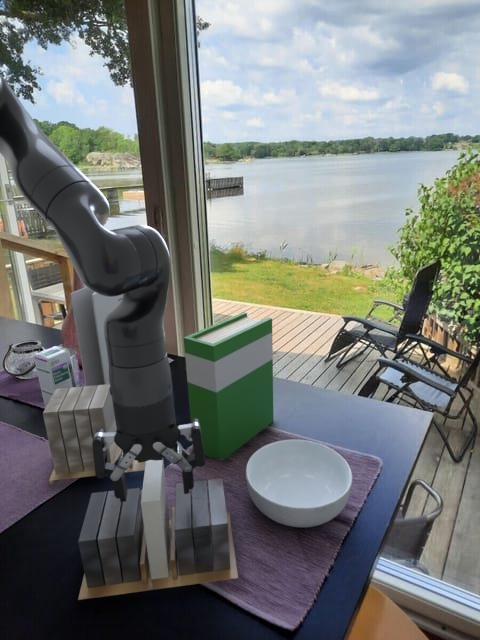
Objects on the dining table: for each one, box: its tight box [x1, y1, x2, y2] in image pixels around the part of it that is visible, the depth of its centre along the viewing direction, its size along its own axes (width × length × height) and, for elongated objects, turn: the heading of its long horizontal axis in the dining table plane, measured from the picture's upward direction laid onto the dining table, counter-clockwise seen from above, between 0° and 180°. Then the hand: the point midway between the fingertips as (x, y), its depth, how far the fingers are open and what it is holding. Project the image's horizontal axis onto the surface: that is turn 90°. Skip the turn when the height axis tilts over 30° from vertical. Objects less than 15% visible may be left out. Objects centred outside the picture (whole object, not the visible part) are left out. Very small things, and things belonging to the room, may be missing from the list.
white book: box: [141, 458, 171, 579], centre depth 62 cm, size 2×9×13 cm, turn 7°
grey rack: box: [77, 478, 239, 601], centre depth 63 cm, size 21×12×9 cm, turn 97°
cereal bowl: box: [245, 439, 353, 528], centre depth 72 cm, size 17×17×7 cm
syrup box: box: [33, 345, 77, 409], centre depth 104 cm, size 6×6×14 cm
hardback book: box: [183, 311, 274, 460], centre depth 89 cm, size 18×7×24 cm, turn 141°
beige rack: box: [42, 384, 146, 486], centre depth 84 cm, size 20×12×14 cm, turn 97°
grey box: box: [69, 286, 123, 386], centre depth 100 cm, size 14×6×30 cm, turn 161°
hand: (155, 493), depth 61 cm, fingers open, 8 cm apart
